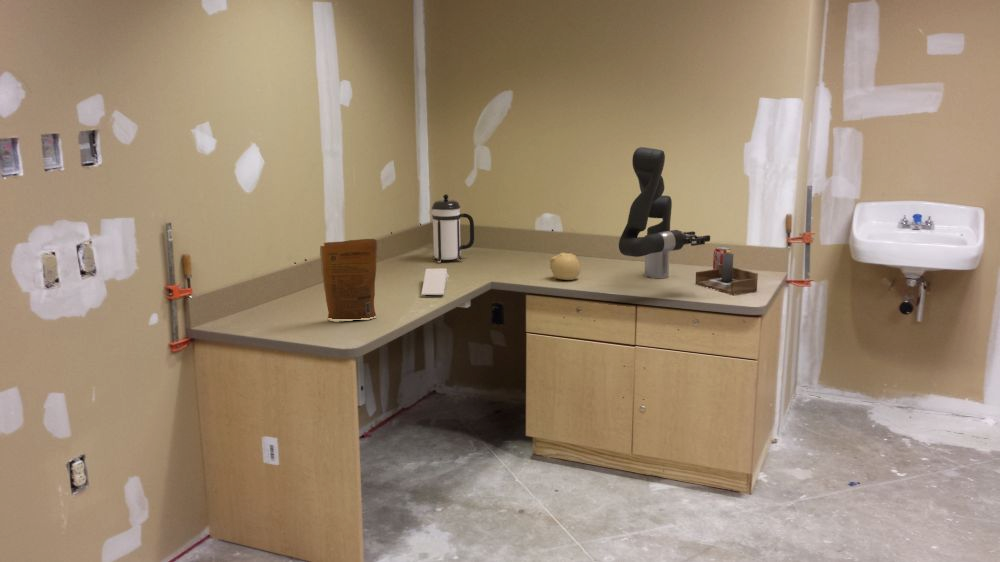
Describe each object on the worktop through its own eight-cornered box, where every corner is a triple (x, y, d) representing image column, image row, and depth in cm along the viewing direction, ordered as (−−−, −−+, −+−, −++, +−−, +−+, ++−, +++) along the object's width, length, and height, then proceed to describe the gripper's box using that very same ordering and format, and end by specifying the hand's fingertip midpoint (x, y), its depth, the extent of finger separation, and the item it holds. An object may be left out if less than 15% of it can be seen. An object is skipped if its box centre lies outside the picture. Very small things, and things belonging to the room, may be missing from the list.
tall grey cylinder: (719, 284, 345) (720, 250, 342) (726, 283, 347) (728, 249, 344) (726, 286, 341) (728, 251, 338) (734, 285, 343) (735, 250, 340)
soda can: (730, 278, 360) (732, 249, 357) (712, 278, 361) (714, 249, 358) (730, 275, 366) (731, 246, 364) (712, 274, 368) (713, 245, 365)
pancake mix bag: (381, 321, 301) (378, 239, 294) (323, 324, 297) (319, 242, 291) (380, 316, 307) (376, 236, 301) (323, 319, 304) (319, 238, 297)
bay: (695, 284, 350) (696, 266, 349) (718, 280, 356) (719, 263, 354) (733, 295, 332) (733, 276, 331) (756, 291, 338) (757, 273, 336)
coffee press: (452, 265, 390) (451, 197, 383) (424, 261, 398) (422, 195, 392) (475, 258, 404) (474, 193, 397) (447, 255, 413) (445, 190, 406)
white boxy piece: (443, 312, 335) (446, 285, 361) (447, 294, 333) (450, 269, 359) (417, 306, 334) (422, 280, 360) (421, 288, 332) (426, 263, 358)
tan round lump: (570, 274, 370) (570, 249, 367) (585, 280, 359) (585, 254, 357) (546, 277, 365) (546, 251, 362) (560, 283, 354) (560, 256, 352)
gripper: (681, 234, 321) (715, 229, 329) (656, 228, 333) (689, 223, 341) (680, 254, 323) (714, 249, 331) (655, 247, 335) (689, 242, 343)
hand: (701, 236), depth 336 cm, fingers open, 8 cm apart
